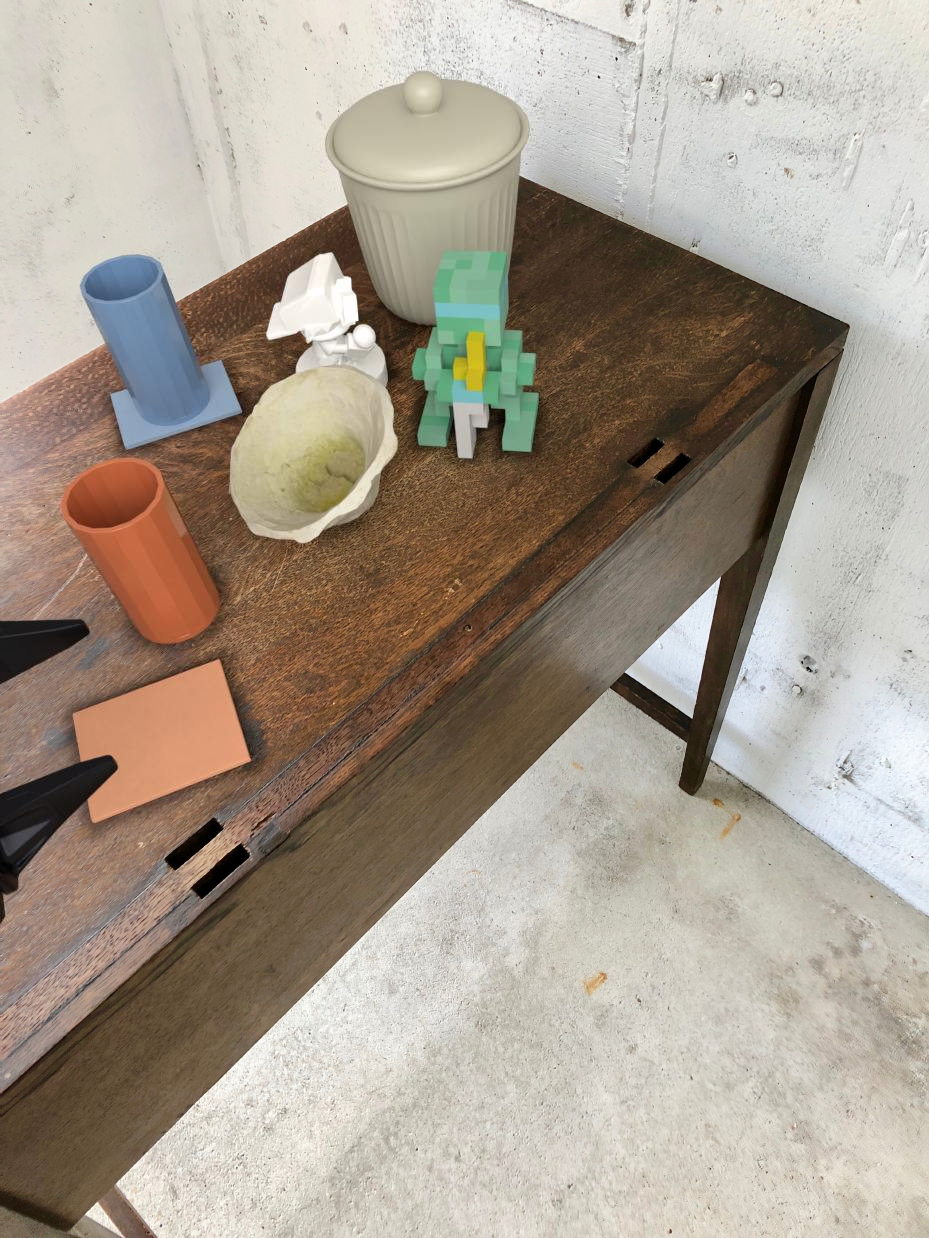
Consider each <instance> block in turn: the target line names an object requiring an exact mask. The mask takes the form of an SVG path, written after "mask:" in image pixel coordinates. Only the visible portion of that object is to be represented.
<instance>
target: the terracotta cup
mask: <svg viewBox="0 0 929 1238" xmlns="http://www.w3.org/2000/svg"><path fill="white" fill-rule="evenodd" d="M60 510H61V515H62V518H63V521H64V522H65V523H66V525H67V526H68V528H69V529H70V530H71V532H72V534H73V535H74V537H75V538H76V540H77V542H78V543H79V545H80V546H81V547H82V549H83V551H84V552H85V554H86V555H87V557H88V558H89V559H90V561H91V563H92V565H93V566H94V567H95V569H96V571H97V572H98V573H99V575H100V577H101V578H102V580H103V581H104V583H105V584H106V586H107V588H108V590H110V592H111V594H112V595H113V597H114V598H115V599H116V602H117V603H118V604H119V605H120V607H121V609H122V610H123V612H124V613H125V615H126V617H127V618H128V620H129V621H130V622H131V624H132V626H133V627H134V628H135V629H136V630H137V632H138V633H139V634H140V635H141V636H142V637H143V638H145V639H146V640H148V641H151V642H153V643H156V644H162V645H166V644H167V645H170V644H171V645H172V644H178V643H182V642H186V641H188V640H192V639H193V638H195V637H196V636H198V635H200V634H201V633H203V632H204V631H205V630H206V629H207V628H208V627H209V626H210V625H211V624H212V623H213V622H214V620H215V618H216V616H217V615H218V613H219V609H220V603H221V596H220V592H219V590H218V587H217V585H216V582H215V580H214V577H213V575H212V574H211V572H210V570H209V568H208V566H207V563H206V562H205V560H204V557H203V555H202V553H201V551H200V549H199V546H198V545H197V543H196V541H195V539H194V536H193V534H192V533H191V531H190V529H189V526H188V524H187V522H186V520H185V518H184V516H183V515H182V512H181V510H180V507H179V506H178V504H177V501H176V499H175V497H174V496H173V494H172V492H171V490H170V487H169V486H168V483H167V481H166V480H165V477H164V476H163V473H162V471H161V470H160V469H159V468H158V467H156V466H155V465H154V464H153V463H152V462H151V461H149V460H144V459H141V458H137V457H133V456H131V457H114V458H111V459H108V460H105V461H101V462H97V463H95V464H93V465H91V466H90V467H88V468H87V469H85V470H84V471H82V472H80V473H79V474H77V475H76V477H75V478H74V479H73V480H72V481H71V482H70V483H69V484H68V485H67V487H66V488H65V490H64V492H63V495H62V497H61V501H60Z"/></svg>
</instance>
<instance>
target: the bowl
mask: <svg viewBox="0 0 929 1238" xmlns="http://www.w3.org/2000/svg"><path fill="white" fill-rule="evenodd" d="M394 420H395V409H394V404H393V403H392V398H391V396H390V393H389V391H388V389H387V387H386V388H385V387H384V386H383V385H382V384H381V383H379V382H378V380H377V379H375V378H374V377H372V376H371V375H368V374H366V373H365V372H363V371H361V370H359V369H357V368H356V367H353V366H350V365H328V366H321V367H316V368H311V369H307V370H305V371H302V372H298V373H296V372H295V373H293V374H292V375H289V376H288V377H286V378H284V379H282V380H279V381H278V382H275V383H273V384H271V385H270V386H269V387H268V388H267V389H266V390H265V392H264V393H263V394H262V395H261V396H260V398H259V400H258V402H257V403H256V404H255V405H254V407H253V410H252V412H251V414H249V415H248V417H247V418H246V419H245V422H244V423H243V425H242V427H241V429H240V431H239V434H238V435H237V436H236V439H235V441H234V443H233V445H232V446H231V451H230V465H229V488H228V494H230V495H231V499H232V501H233V503H234V505H235V506H236V507H237V510H238V513H239V514H240V517H241V518H242V519H243V520H244V522H245V523H246V525H247V527H248V529H249V530H250V532H252V534H253V535H256V536H258V537H266V538H270V539H274V540H288V541H295V542H297V543H299V544H307V543H309V542H311V541H312V540H314V539H315V538H317V537H319V535H320V534H321V533H322V532H323V531H325V530H328V529H331V528H333V526H341V525H343V524H347V523H350V522H351V521H353V520H356V519H358V518H359V517H361V515H363V514H364V513H365V512H366V511H368V510H369V509H370V508H371V507H372V506H373V505H374V503H375V501H376V499H377V497H378V494H379V491H380V482H381V481H380V480H381V476H382V470H383V469H384V468H385V467H386V466H387V465H388V463H389V462H391V460H392V459H393V458H394V456H395V455H396V453H397V451H398V446H399V441H398V437H397V435H396V433H395V430H394Z"/></svg>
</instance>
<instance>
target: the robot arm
mask: <svg viewBox="0 0 929 1238" xmlns="http://www.w3.org/2000/svg"><path fill="white" fill-rule="evenodd" d="M90 634H91V629H90V627H89V626H88V624H87V622H86V621H85V620H84V619H81V618H63V619H61V618H60V619H28V620H27V619H26V620H25V619H24V620H21V619H20V620H0V685H3V684H4V683H6V682H8V681H10V680H12V679H14V678H16V677H17V676H19V675H21V674H23V673H25V672H27V671H29V670H31V669H33V668H34V667H36V666H38V665H40V664H42V663H44V662H46V661H48V660H49V659H51V658H53V657H56V656H57V655H59V654H61V653H63V652H65V651H66V650H69V649H70V648H72V647H73V646H75V645H76V644H78V643H80V642H81V641H82V640H84V639H85V638H87V637H88V636H90ZM117 770H118V764H117V761H116V760H115V759H114V758H113V757H112V756H111V755H104V756H101V757H97V758H93V759H90V760H86V761H83V762H81V761H80V762H77V763H73V764H71V765H68V766H66V767H64V768H62V769H59V770H56V771H53V772H51V773H48V774H45V775H44V776H41V777H38V778H35V779H32V780H30V781H28V782H25V783H23V784H20V785H18V786H15V787H13V788H10V789H8V790H4V791H3V792H1V793H0V925H1V924H2V923H3V921H4V920H5V918H6V908H5V897H4V895H5V896H9V895H12V894H14V893H15V892H17V891H18V890H19V887H20V885H19V884H20V883H19V881H20V880H19V876H20V875H21V873H23V871H24V869H25V868H27V866H28V865H29V864H30V863H31V861H32V860H33V859H34V858H35V856H37V854H38V853H39V852H40V851H41V849H42V848H43V847H44V846H45V845H46V844H47V843H48V841H49V840H50V839H51V838H52V837H53V835H54V834H55V833H57V831H58V829H60V828H61V827H62V826H63V825H64V824H65V823H66V822H67V821H68V819H70V818H71V816H72V815H74V814H75V813H76V812H77V811H78V810H79V808H81V807H82V806H83V805H84V804H85V803H86V802H88V799H89V798H90V797H91V796H92V795H93V794H94V793H95V792H96V791H97V790H98V789H99V788H100V787H101V786H102V785H103V784H104V783H105V782H106V781H107V780H108V779H109V778H110V777H111V776H112V775H113V774H114V773H115V772H116V771H117Z"/></svg>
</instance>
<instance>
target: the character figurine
mask: <svg viewBox="0 0 929 1238" xmlns="http://www.w3.org/2000/svg"><path fill="white" fill-rule="evenodd" d="M358 311H359V310H358V301H357V294H356V293H355V291H354V290H353V289H352V278H351V277H350V276H345V275H344V274H343V271H342V269H341V267H340V264H339V263H338V260H337V258H336V256H335V255H334V253H333V252H332V251H331V252H325V253H319V254H318V255H315V256H314V257H313V258H311V259H310V260H309V261H307V262H305V263H304V264H303V265H300V266H299V267H298V268H296V269H295V270H293V271H292V272H290V273H289V275H287V278H286V281H285V285H284V289H283V293H282V297H281V300H280V301H279V302H275V304H274V305H273V308H272V312H271V314H270V315H271V316H270V318H269V322H268V326H267V330H266V334H265V335H266V338H267V340H268V341H272V340H277V339H280V338H284V337H287V336H291V335H295V334H297V333H298V332H300V333H301V334H302V336H303V337H304V338H305V341H306V344H310V343H311V342H312V343H311V344H312V345H311V346H310V347H308V348H307V349H306V350H305V351H304V352H303V353H302V355H301V356H299V358H298V361H297V363H296V366H295V374H296V373H298V372H302V371H305V370H307V369H311V368H316V367H321V366H328V365H350V366H353V367H356V368H357V369H359V370H361V371H363V372H365V373H366V374H368V375H371V376H372V377H374V378H375V379H377V380H378V382H379V383H381V384H382V385H383V386H384V387H385V388H386V389H387V385H388V382H389V375H388V368H387V362H386V357H385V354H384V352H383V349H382V348H381V347H380V346H379V345H378V344H377V343H376V340H377V336H376V332H375V330H374V329H373V328H372V326H370V325H369V324H365V323H361V324H358V325H357V326H356V327H355V328H354V329H353V331H352V332H347V331H348V330H349V329H350V328H351V326H353V325H356V322H359V313H358ZM346 332H347V333H346ZM345 333H346V334H345Z"/></svg>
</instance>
